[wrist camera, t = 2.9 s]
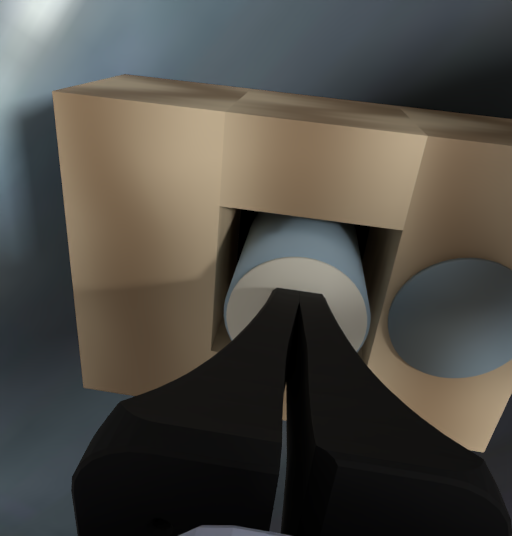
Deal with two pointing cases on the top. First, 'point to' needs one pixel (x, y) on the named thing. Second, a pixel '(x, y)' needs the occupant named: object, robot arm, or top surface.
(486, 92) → the top surface
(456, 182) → the socket block
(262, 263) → the peg
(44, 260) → the top surface
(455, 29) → the top surface
